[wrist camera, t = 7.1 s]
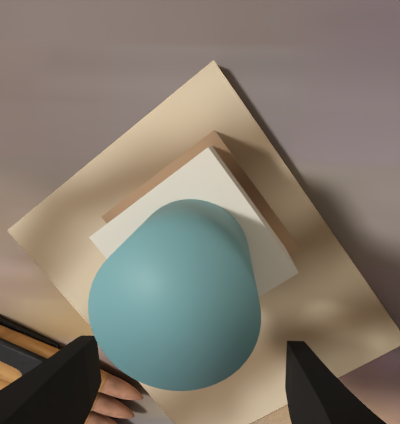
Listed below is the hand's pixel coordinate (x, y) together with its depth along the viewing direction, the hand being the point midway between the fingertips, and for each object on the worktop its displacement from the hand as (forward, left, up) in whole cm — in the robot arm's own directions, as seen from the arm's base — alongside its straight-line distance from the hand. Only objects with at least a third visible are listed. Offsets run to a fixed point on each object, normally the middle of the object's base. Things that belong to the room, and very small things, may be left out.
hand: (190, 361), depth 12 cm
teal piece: (+3, -2, -2) cm, 4 cm away
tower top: (+3, -2, -5) cm, 6 cm away
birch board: (-1, 0, -8) cm, 8 cm away
